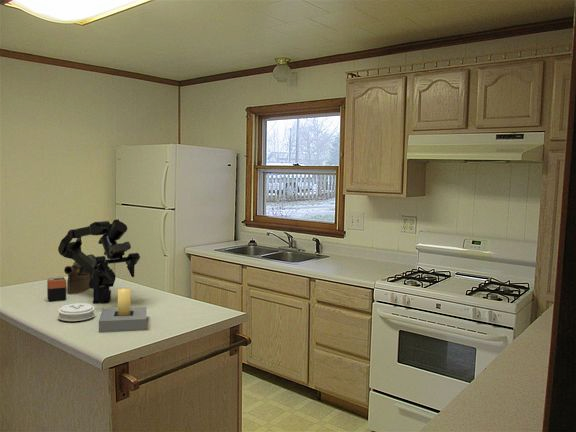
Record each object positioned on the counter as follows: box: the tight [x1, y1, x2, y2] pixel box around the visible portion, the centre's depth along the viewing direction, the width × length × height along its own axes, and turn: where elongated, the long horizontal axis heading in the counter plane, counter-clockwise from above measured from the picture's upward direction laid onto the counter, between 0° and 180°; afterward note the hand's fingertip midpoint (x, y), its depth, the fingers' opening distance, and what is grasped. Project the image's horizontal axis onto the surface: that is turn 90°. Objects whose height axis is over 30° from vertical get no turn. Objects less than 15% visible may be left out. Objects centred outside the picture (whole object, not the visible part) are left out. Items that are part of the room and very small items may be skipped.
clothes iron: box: [63, 264, 91, 295], centre depth 223 cm, size 8×16×13 cm, turn 0°
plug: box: [117, 287, 131, 316], centre depth 180 cm, size 4×4×12 cm
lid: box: [57, 302, 96, 322], centre depth 185 cm, size 13×13×5 cm
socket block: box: [98, 306, 148, 333], centre depth 180 cm, size 16×16×4 cm
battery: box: [46, 275, 67, 303], centre depth 208 cm, size 4×7×10 cm, turn 124°
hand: (122, 278), depth 196 cm, fingers open, 9 cm apart
